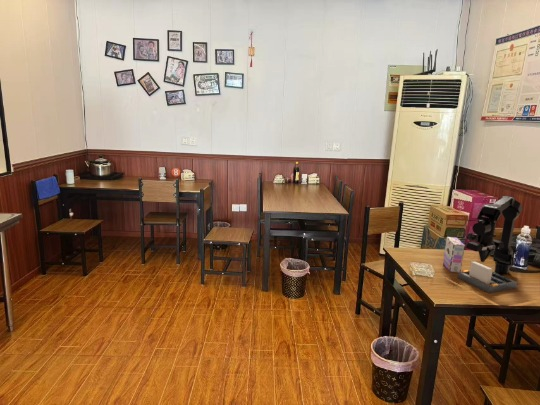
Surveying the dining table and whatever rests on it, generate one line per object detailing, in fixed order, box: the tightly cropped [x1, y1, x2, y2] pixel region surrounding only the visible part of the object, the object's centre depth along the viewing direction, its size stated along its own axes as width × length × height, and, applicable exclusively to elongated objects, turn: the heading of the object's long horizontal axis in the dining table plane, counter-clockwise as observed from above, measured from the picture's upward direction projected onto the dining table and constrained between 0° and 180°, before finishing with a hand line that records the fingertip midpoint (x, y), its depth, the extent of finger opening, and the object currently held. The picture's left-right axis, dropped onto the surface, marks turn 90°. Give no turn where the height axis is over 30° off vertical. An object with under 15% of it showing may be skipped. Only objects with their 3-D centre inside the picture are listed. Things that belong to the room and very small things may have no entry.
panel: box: [469, 261, 494, 285], centre depth 179 cm, size 2×10×10 cm, turn 20°
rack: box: [457, 269, 519, 294], centre depth 182 cm, size 19×18×5 cm
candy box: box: [442, 236, 466, 273], centre depth 199 cm, size 14×6×16 cm, turn 168°
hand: (482, 261), depth 177 cm, fingers closed
